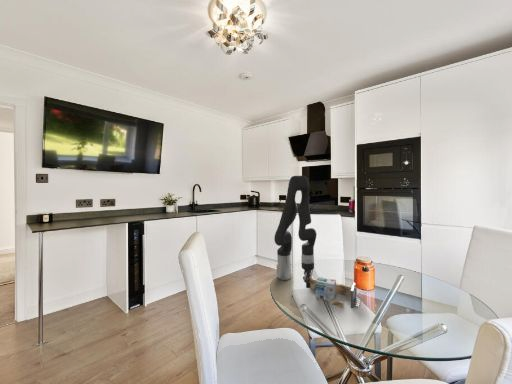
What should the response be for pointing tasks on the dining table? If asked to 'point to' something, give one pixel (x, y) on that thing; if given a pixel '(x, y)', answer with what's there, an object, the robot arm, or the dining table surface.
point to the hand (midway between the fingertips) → (308, 287)
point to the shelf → (337, 291)
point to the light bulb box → (326, 288)
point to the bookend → (354, 301)
